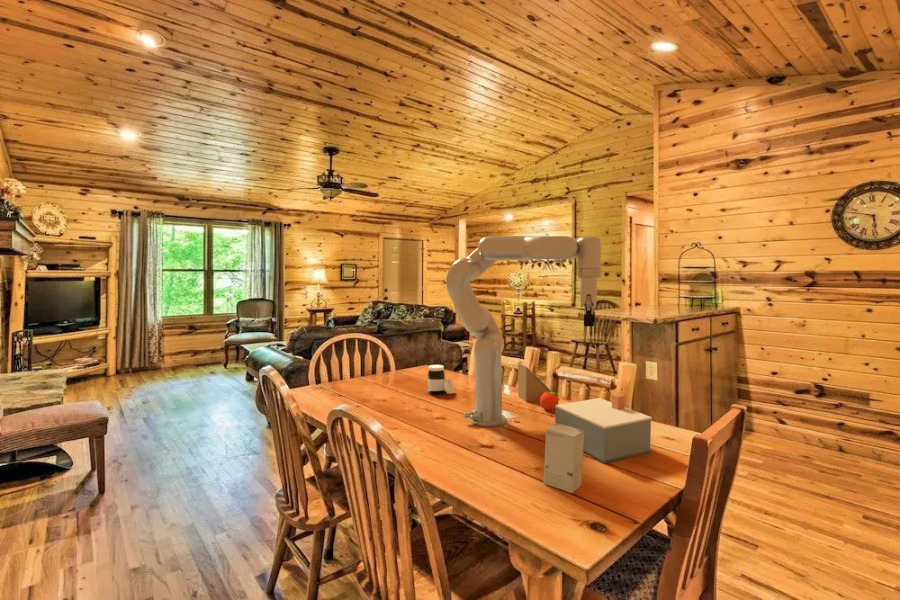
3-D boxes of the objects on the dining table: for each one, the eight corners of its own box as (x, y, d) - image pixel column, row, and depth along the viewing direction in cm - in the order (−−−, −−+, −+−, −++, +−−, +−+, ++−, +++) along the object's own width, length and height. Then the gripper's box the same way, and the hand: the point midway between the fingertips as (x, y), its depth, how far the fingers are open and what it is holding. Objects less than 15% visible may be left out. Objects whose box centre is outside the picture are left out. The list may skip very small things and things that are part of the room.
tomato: (559, 407, 180) (559, 389, 179) (562, 412, 173) (562, 394, 172) (539, 406, 180) (539, 389, 180) (540, 412, 174) (541, 394, 173)
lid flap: (604, 429, 127) (604, 413, 127) (555, 407, 147) (555, 393, 147) (651, 419, 135) (652, 404, 135) (599, 399, 155) (599, 386, 155)
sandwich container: (560, 399, 190) (560, 364, 189) (526, 402, 186) (526, 366, 185) (550, 394, 198) (550, 360, 197) (518, 396, 194) (518, 362, 193)
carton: (603, 463, 128) (604, 429, 127) (555, 437, 148) (555, 407, 147) (650, 452, 136) (650, 419, 135) (598, 428, 156) (598, 400, 155)
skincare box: (543, 484, 117) (543, 428, 116) (554, 475, 121) (554, 421, 120) (573, 494, 111) (574, 435, 110) (584, 485, 116) (584, 428, 115)
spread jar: (427, 389, 207) (426, 364, 206) (451, 388, 209) (451, 363, 208) (428, 396, 195) (428, 370, 195) (454, 395, 197) (454, 369, 196)
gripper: (579, 273, 162) (579, 321, 163) (575, 274, 145) (576, 327, 147) (601, 273, 159) (601, 321, 161) (600, 274, 143) (600, 328, 144)
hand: (589, 324), depth 154 cm, fingers open, 9 cm apart
